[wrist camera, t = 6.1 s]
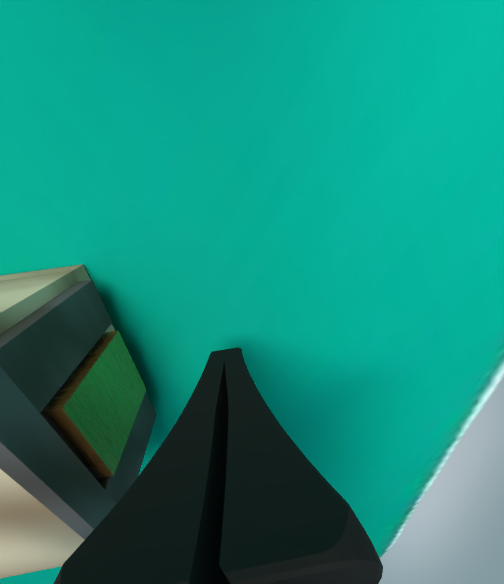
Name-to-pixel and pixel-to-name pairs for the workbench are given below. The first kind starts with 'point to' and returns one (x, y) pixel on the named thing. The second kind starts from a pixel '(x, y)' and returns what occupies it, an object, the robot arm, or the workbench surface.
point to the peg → (98, 405)
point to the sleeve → (37, 431)
